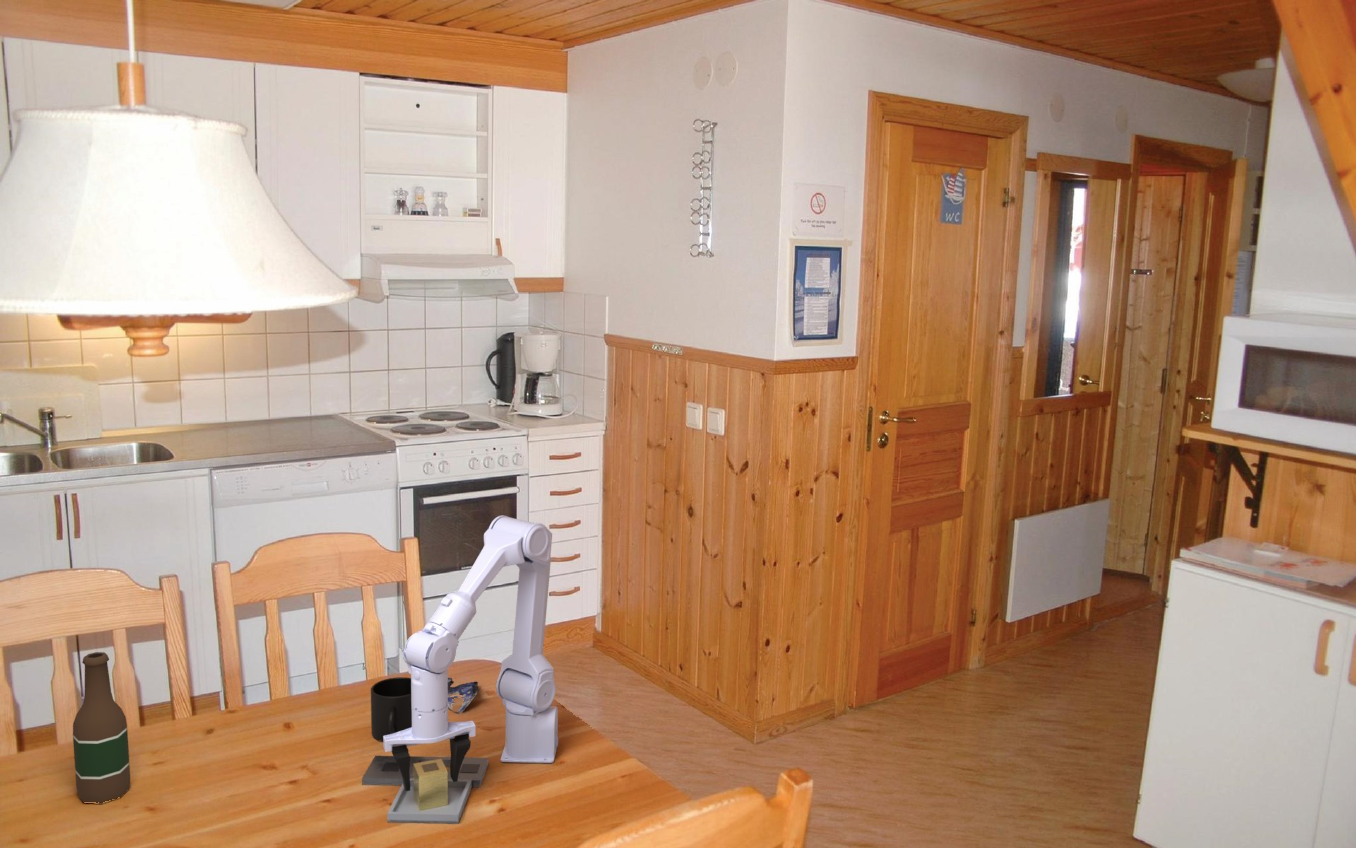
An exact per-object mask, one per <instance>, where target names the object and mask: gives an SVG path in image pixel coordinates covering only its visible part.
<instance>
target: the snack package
mask: <svg viewBox="0 0 1356 848" xmlns="http://www.w3.org/2000/svg"><path fill="white" fill-rule="evenodd" d="M454 679H456V677H454ZM454 683H455V681H454V680H453V678H452V677H448V709H450V710H451V711H453V712H455V713H456V714H462V713H463V712H464V711H465V709H467V707H468V706H469V705H470V704H471V702H472V701H473V700H474V699H475V698H476V697H477V696H478V693H479V691H480V689H481V687H479V686H478V685H479V682H478V681H470V682H466V683H462V682H460V683H461V684H458V685H455V686H452V685H453V684H454ZM452 695H462V696H461V697H458V696H454V697H450V696H452ZM454 698H457V699H461V698H462V699H463V700H464V701H463V700H462V699H461V700H462V704H461V706H460V707H459V708H458V710H457V711H455V710H453V707H454V704H455V703H456V701H455V699H454ZM452 699H454V700H453V701H452ZM454 701H455V702H454ZM453 703H454V704H453ZM463 703H464V704H463ZM452 705H453V706H452Z"/></svg>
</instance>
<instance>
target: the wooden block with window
mask: <svg viewBox="0 0 1356 848" xmlns="http://www.w3.org/2000/svg"><path fill="white" fill-rule="evenodd" d="M446 767H447V766H445V765H444V763H443V761H442V759H437V760H431V761H426V762H420V763H414V764H413V782H414V800H415V802H416V804H417V807H418V809H419V811H423V810H428V809H433V808H438V807H443V806H448V770H447V768H446Z"/></svg>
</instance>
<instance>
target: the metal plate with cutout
mask: <svg viewBox="0 0 1356 848" xmlns="http://www.w3.org/2000/svg"><path fill="white" fill-rule="evenodd" d="M437 759H442V761H443V763H444V765H445V767H450V762H451V756H413V755H412V756H411V755H410V769H409V775H410V779H413V764H414V763H420V762H426V761H431V760H437ZM488 766H489V757H466V756H465V757H464V759H463V762H462V765H461V768H460V771H459V775H458V779H459V780H472V788H481V785H482V783H483V781H484V778H485V774H486V773H487V769H488ZM447 772H448V779H452V778H451V775H450V768H449V770H447ZM402 784H403V779H402V775H401V771H400V768H399V766H398V764H397V762H396V760H395V758H394V756H393V755H374V757H373V759H372V760H371V762H370V764H369V766H368V767H367V769H366V770H365V773H364V774H363V776H362V778H361V785H362V786H364V785H365V786H366V785H367V786H402Z"/></svg>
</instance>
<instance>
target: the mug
mask: <svg viewBox="0 0 1356 848" xmlns="http://www.w3.org/2000/svg"><path fill="white" fill-rule="evenodd" d="M370 715H371V716H370V717H371V718H370V720H371V724H370V725H371V736H372V737H373V738H374V739H375V740H376V741H378V742H381V743H383V736H385V735H390V734H393V733H397V732H400V731H402V730H405V729H408V728H411V727H412V706H411V677H406V676H405V677H403V676H399V677H389V678H385V679H382V680H379V681H377V682H376V683H374V684H373V685H372V686H371V687H370Z"/></svg>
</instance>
